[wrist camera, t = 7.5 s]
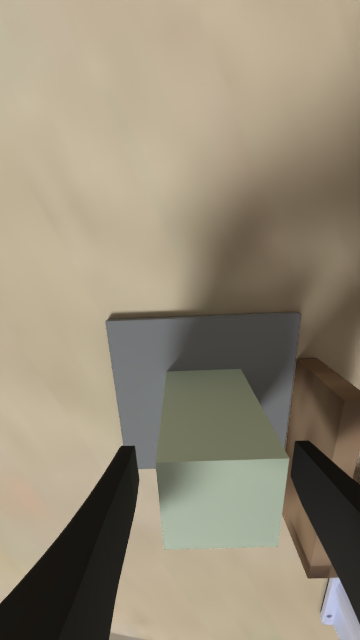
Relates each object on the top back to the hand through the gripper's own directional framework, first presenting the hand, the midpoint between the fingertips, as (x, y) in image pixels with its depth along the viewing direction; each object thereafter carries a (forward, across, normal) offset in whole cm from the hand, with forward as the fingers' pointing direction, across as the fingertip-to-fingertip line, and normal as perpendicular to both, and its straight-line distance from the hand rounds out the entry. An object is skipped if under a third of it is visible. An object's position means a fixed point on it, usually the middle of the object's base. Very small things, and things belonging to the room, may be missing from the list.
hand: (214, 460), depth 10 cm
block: (+4, 0, 0) cm, 4 cm away
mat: (+4, 0, 0) cm, 5 cm away
